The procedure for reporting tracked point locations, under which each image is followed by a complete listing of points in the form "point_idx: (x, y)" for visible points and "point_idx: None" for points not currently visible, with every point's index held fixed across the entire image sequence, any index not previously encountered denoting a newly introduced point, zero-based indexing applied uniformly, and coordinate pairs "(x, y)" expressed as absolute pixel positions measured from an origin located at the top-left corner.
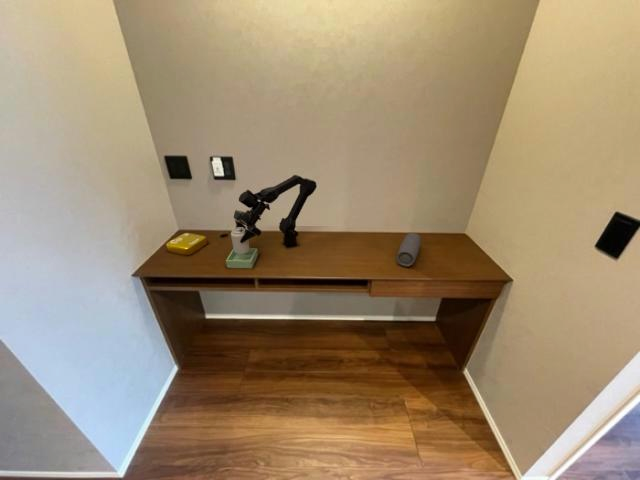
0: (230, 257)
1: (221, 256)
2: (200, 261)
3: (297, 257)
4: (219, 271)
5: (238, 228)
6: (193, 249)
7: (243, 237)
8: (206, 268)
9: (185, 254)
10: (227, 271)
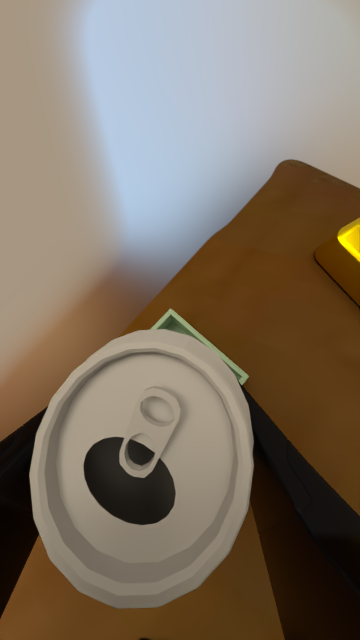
0: (194, 337)
1: (251, 329)
2: (257, 269)
3: (33, 611)
4: (168, 292)
5: (226, 486)
6: (335, 263)
7: (36, 415)
8: (207, 270)
9: (320, 245)
10: (153, 309)
